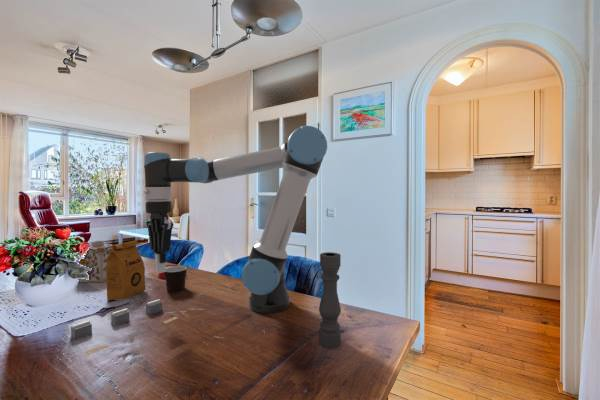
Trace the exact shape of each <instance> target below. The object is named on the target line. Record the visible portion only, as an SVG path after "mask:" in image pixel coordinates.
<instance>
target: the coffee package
mask: <svg viewBox="0 0 600 400" xmlns="http://www.w3.org/2000/svg"><path fill="white" fill-rule="evenodd" d="M112 245H113V246H112V248H111V251H110V254H109V256H108V259H107V265H106V283H105V284H106V300H107V301H119V300H126V299H128V298H130V297H133V296H136V295H140V294H143V293H145V291H146V290H147V289H146V278H145V277H146V273H145V272H146V269H145V268H146V267H145V262H144V260H143V258H142V256H141V254H140V252H139V250H138V247H137V245H138V240H137V239H136V240H135V239H134V240H131V241H127V242H122V243H118V244H112Z"/></svg>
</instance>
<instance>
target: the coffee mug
mask: <svg viewBox="0 0 600 400" xmlns="http://www.w3.org/2000/svg"><path fill="white" fill-rule="evenodd" d="M187 271H188V268H187V266H183V265H177V266H174V267H169V268H166V272H164V274H165V278H164V280H165V286H166V292H167V293H180V292H182V291H184V290H185V289H186V279H187Z"/></svg>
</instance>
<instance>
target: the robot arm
mask: <svg viewBox="0 0 600 400" xmlns="http://www.w3.org/2000/svg"><path fill="white" fill-rule="evenodd" d="M327 150H328V141H327V139H326V136H325V135H324V133H323V131H322V130H320V129H319V128H317V127H315V126H313V125H303V126H299V127H298V128H296V129H294V130H293V131H292V133H291V134H290V135H289V137H288V139H287V142H284V143H283V144H282V145H281V146H277V147H273V148H269V149H263V150H259V151H258V150H257V151H252V152H247V153H241V154H236V155H233V156H226V157H222V158H217V159H212V160H205V159H203V158H193V157H192V158H171V155H170V154H169V153H167V152H159V151H157V152H156V151H149V152H147V153H146V154H145V155H144V162H143V163H144V164H143V168H144V184H145V185H144V186H145V190H143V191H144V194H145V200H146V202H145V212H146V214H150V216H149V220H146V221H145V225H146V226H147V233H148V239H149V246H150V250H151V251H153V253H154V265H155V270H154V271H155V274H156V275H158V274H159V273H163V272H166V266H167V264H166V263H167V261H166V253H167V252H170V249H171V242H172V241H171V240H172V233H173V231H172V230H173V227H174V223H173V222H170V221H169V219H170V218H169V213H171V212H172V208H173V207H172V205H173V204H172V201H170V200H172V183H197V184H198V183H201V184H210V183H212V182H215V181H220V180H224V179H225V180H226V179H230V178H236V177H242V176H246V175H251V174H257V173H262V172H268V171H274V170H278V169H284V172H283V175H282V177H281V181H280V183H279V185H278V189H277V191H276V195H275V197H274V200H273V203H272V205H271V209H270V211H269V214H268V217H267V221H266V222H265V223H266V224H265V226H264V229H263V232H262V234H261V237H260V239H259V241H257V242H254V244H253V245H252V248H251V251H250V253H249V256H248V260H247V261H246V263H245V264H244V265H243V267H242V270H241V281H242V284H243V285H244V287H245V289H247V291H249V292H250V296H249V298H248V307H249V309H250V310H252V311H254V312H257V313H260V314H261V313H262V314H273V313H279V312H282V311H284V310H286V309H288V308H289V307H290V304H291V301H290V300H291V299H290V295H289V293H288V289H287V286H286V262H287V259H288V257H289V255H288V253H287V251H286V248H287V245H288V243H289V240H290V237H291V235H292V232H293V228H294V226H295V224H296V220H297V217H298V215H299V214H300V213H299V212H300V210H301V207H302V203H303V201H304V199H305V196H306V193H307V190H308V186H309V185H310V182H311V180H312V179H314V178H316V177H317V176H318V174H319V170H320V168H321V166H322V164H323V163H322V162H323V160H324V158H325V155H326V154H327Z"/></svg>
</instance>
